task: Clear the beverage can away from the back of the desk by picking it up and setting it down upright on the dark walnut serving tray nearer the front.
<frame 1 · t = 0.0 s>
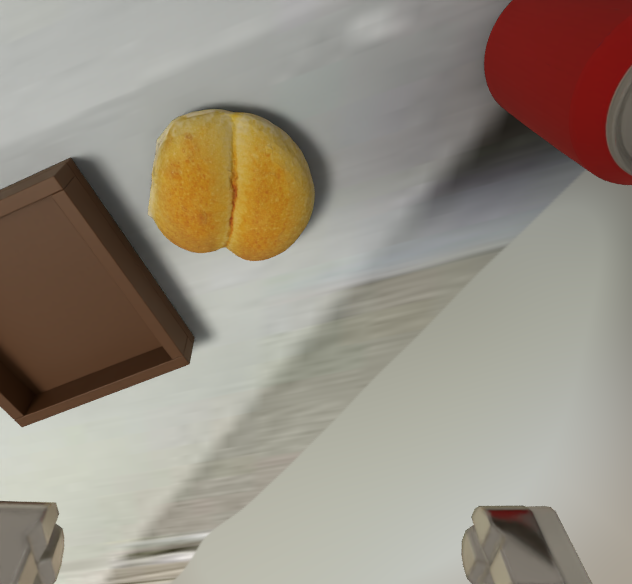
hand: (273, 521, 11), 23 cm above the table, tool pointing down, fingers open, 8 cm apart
beverage can: (541, 48, 28), on the table
bread roll: (231, 181, 31), on the table
serving tray: (51, 293, 34), on the table
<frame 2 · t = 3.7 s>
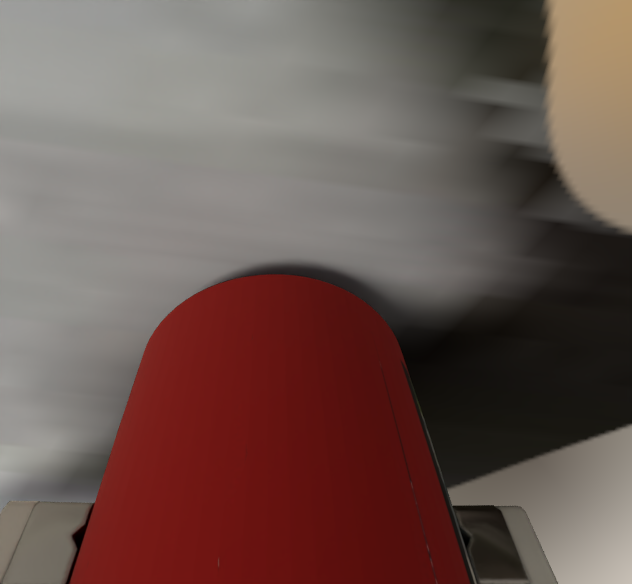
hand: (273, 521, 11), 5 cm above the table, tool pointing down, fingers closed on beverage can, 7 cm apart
beverage can: (274, 360, 15), on the table, touching gripper
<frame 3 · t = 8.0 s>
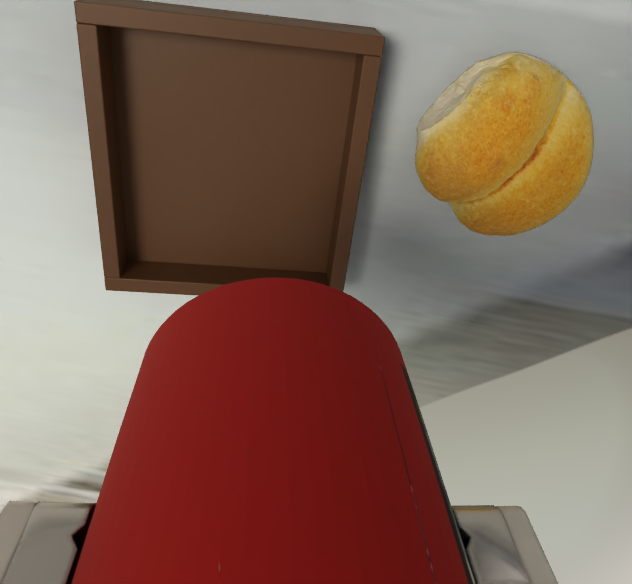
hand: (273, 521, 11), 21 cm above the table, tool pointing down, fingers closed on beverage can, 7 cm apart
beverage can: (274, 362, 15), point 16 cm above the table, touching gripper
bread roll: (492, 142, 29), on the table
serving tray: (233, 157, 28), on the table
when the fingers open (5 cm above the table, at t = 12.2 s): beverage can stays where it is, resting on serving tray.
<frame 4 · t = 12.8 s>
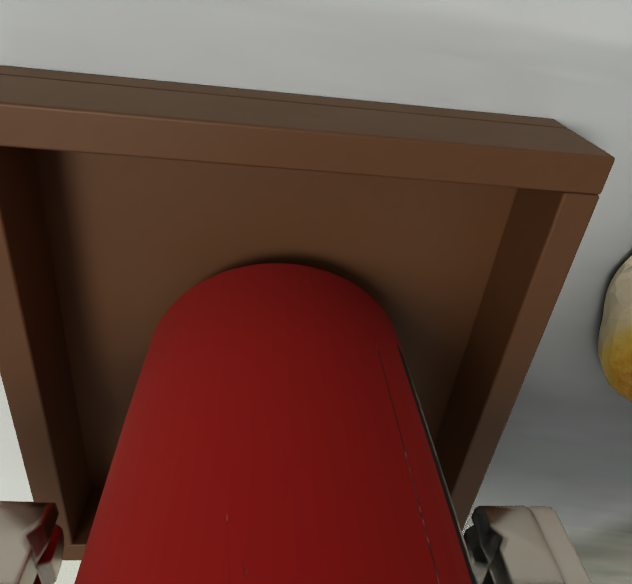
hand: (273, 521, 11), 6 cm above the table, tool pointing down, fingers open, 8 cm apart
beverage can: (276, 347, 15), point 1 cm above the table, touching serving tray
serving tray: (272, 334, 16), on the table
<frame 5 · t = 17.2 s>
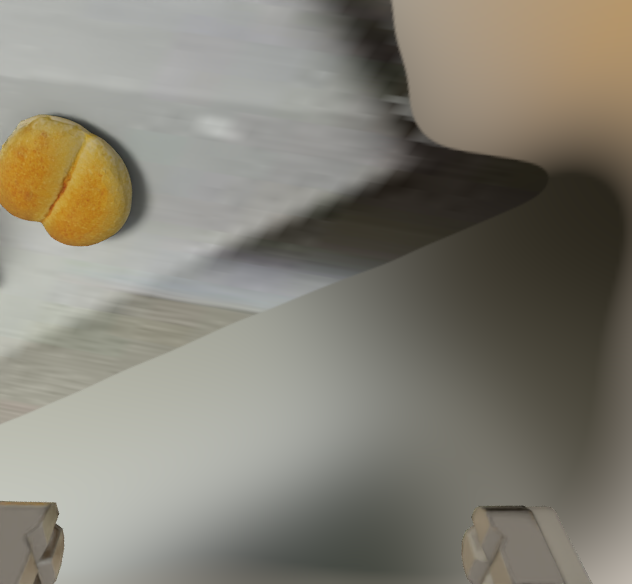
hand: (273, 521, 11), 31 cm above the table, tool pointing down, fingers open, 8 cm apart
bread roll: (69, 176, 39), on the table
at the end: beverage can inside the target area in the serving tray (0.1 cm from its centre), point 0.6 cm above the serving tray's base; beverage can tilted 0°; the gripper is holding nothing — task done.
